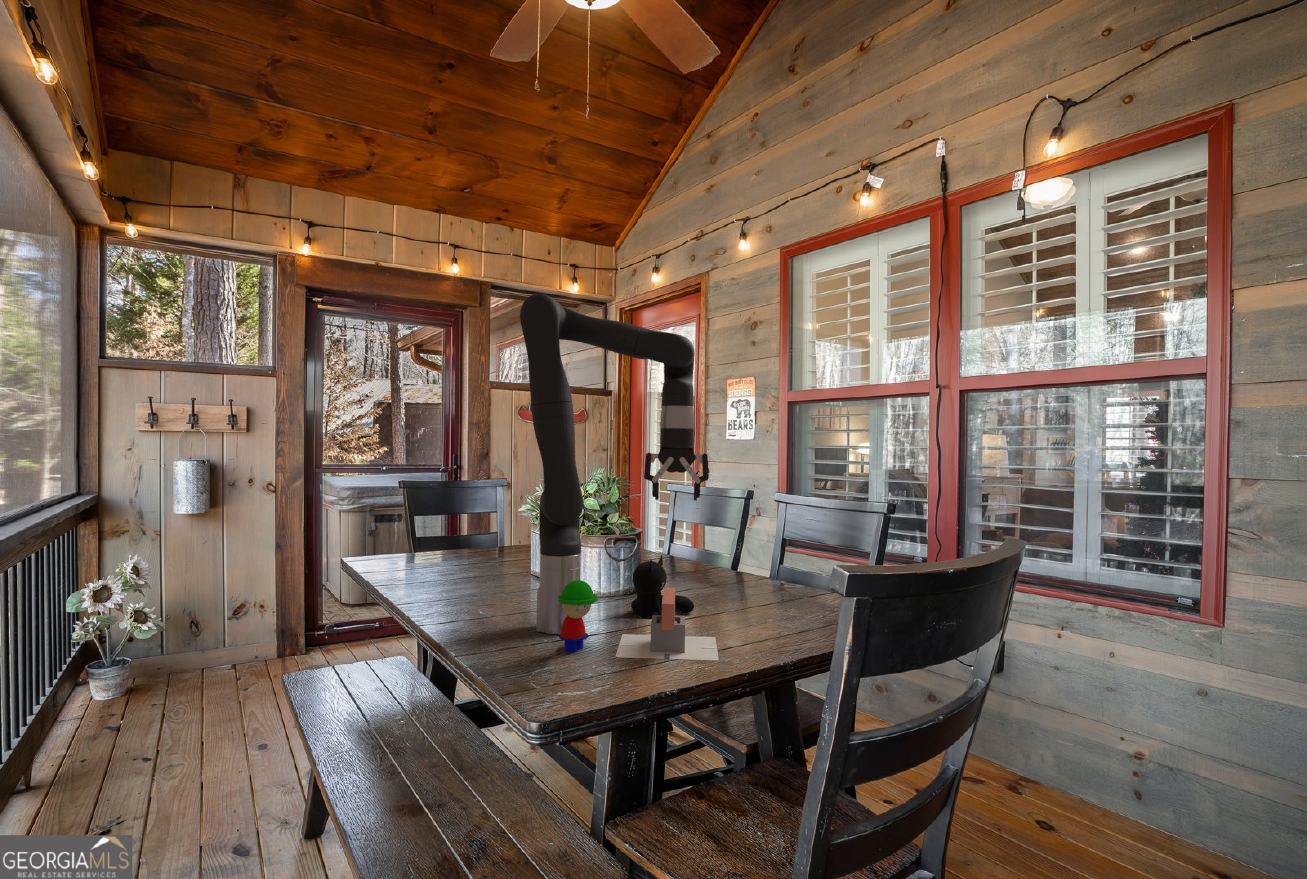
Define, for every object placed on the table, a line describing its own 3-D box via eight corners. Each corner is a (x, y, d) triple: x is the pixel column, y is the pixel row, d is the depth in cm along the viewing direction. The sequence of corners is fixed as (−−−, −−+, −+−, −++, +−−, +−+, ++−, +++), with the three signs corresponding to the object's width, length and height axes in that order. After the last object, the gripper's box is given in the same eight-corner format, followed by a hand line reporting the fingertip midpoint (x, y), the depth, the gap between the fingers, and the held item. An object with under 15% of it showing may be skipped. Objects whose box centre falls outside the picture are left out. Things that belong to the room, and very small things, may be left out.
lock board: (615, 663, 127) (615, 631, 127) (622, 639, 142) (622, 611, 142) (718, 666, 126) (719, 634, 126) (715, 642, 141) (715, 613, 141)
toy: (580, 665, 126) (581, 586, 126) (548, 657, 130) (550, 581, 130) (604, 654, 132) (605, 579, 132) (574, 647, 137) (575, 575, 137)
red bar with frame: (652, 636, 141) (653, 587, 141) (684, 637, 141) (685, 588, 141) (649, 657, 127) (650, 603, 127) (684, 658, 127) (685, 604, 127)
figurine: (667, 625, 154) (669, 561, 154) (619, 616, 162) (620, 555, 162) (700, 611, 167) (701, 552, 167) (655, 603, 175) (656, 547, 175)
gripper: (708, 427, 150) (707, 499, 150) (646, 426, 150) (644, 497, 150) (710, 427, 142) (708, 502, 142) (644, 426, 143) (642, 500, 143)
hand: (675, 499), depth 146 cm, fingers open, 8 cm apart
